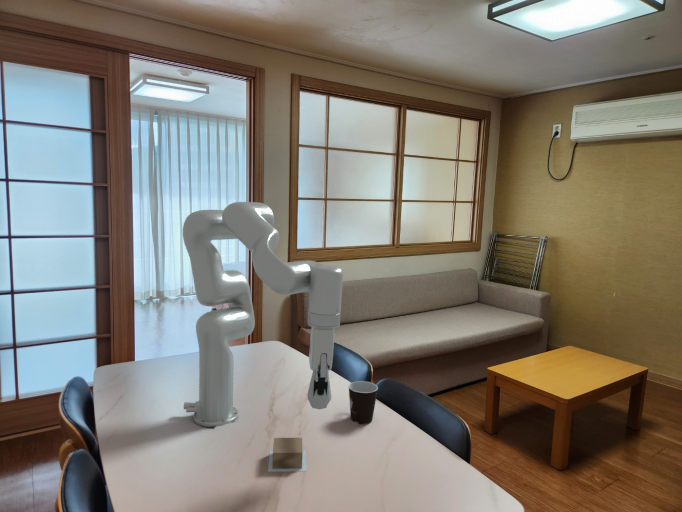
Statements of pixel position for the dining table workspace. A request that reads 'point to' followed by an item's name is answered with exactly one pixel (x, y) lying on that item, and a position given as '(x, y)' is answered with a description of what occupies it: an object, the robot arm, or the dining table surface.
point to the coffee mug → (362, 401)
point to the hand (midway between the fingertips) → (319, 392)
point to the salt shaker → (317, 400)
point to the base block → (287, 453)
